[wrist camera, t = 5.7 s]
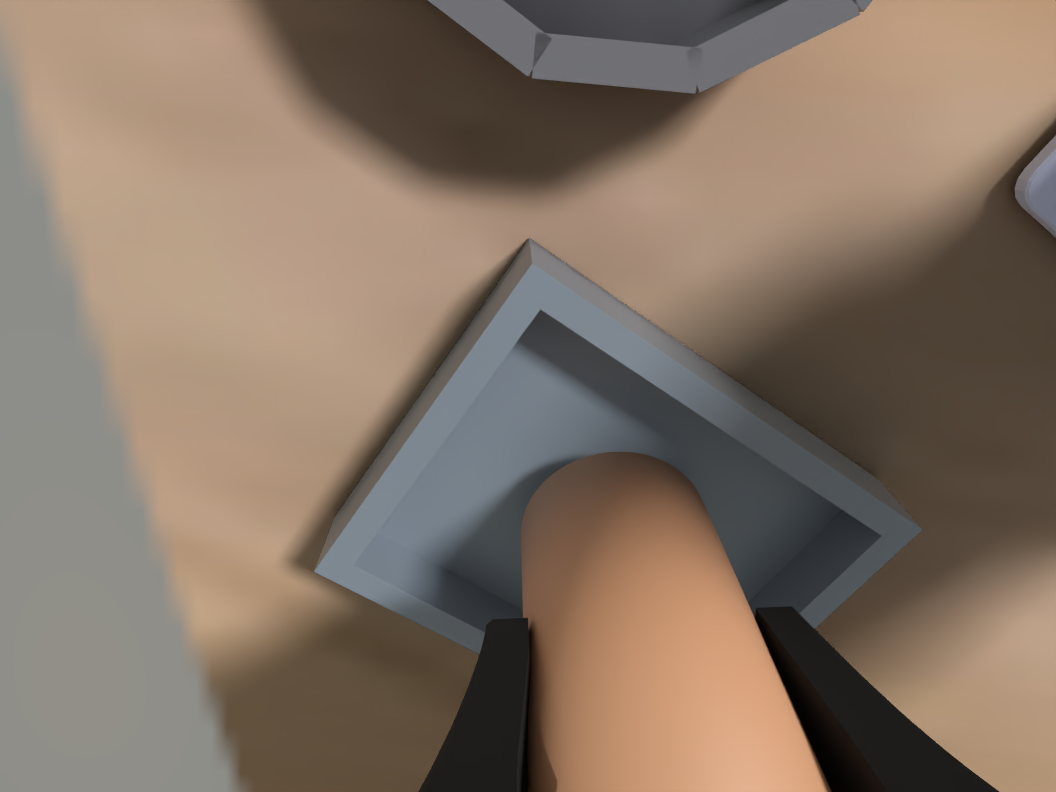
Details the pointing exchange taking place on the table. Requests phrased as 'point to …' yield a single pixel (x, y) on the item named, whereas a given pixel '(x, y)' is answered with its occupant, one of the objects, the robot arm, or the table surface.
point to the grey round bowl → (645, 36)
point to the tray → (583, 430)
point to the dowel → (646, 644)
